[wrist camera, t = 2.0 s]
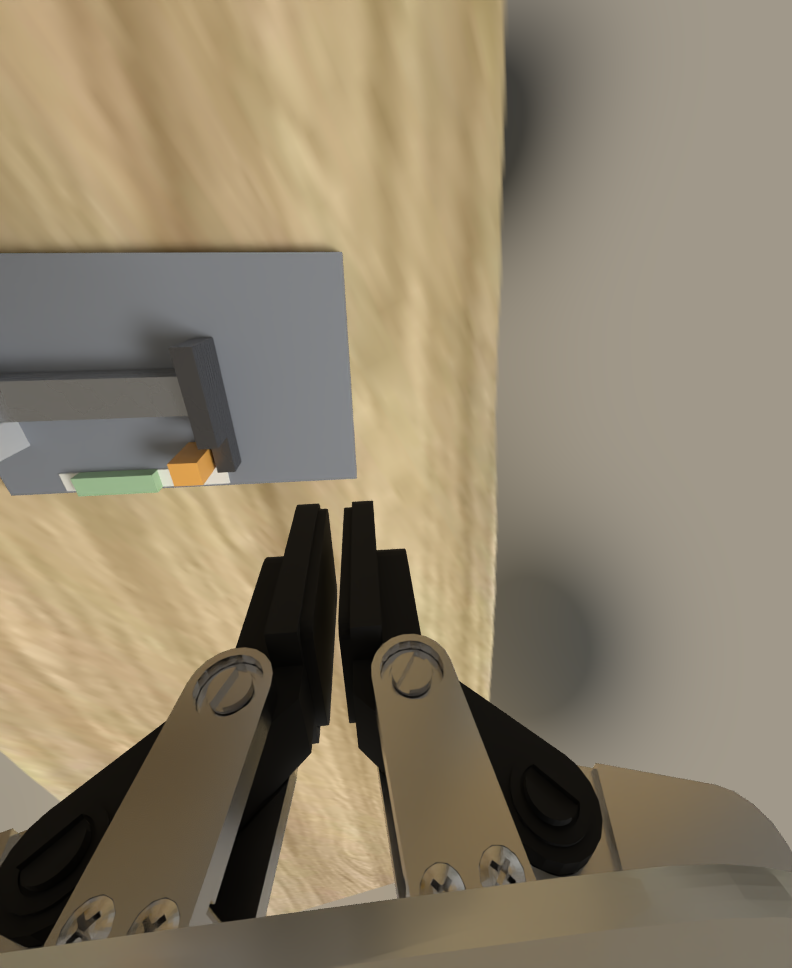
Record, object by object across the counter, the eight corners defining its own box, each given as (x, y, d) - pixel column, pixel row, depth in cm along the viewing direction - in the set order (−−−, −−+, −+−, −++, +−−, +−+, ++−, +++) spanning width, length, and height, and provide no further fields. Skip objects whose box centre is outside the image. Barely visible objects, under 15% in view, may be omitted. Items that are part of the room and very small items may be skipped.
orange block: (188, 442, 27) (166, 464, 23) (214, 441, 27) (196, 462, 24) (194, 462, 27) (174, 486, 24) (220, 461, 27) (203, 485, 24)
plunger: (-53, 342, 22) (-118, 353, 19) (212, 337, 23) (191, 346, 20) (19, 472, 26) (-25, 497, 23) (241, 462, 28) (227, 485, 25)
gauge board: (-108, 254, 21) (-241, 249, 16) (342, 252, 23) (338, 247, 18) (24, 487, 28) (-42, 529, 24) (356, 471, 30) (356, 507, 26)
